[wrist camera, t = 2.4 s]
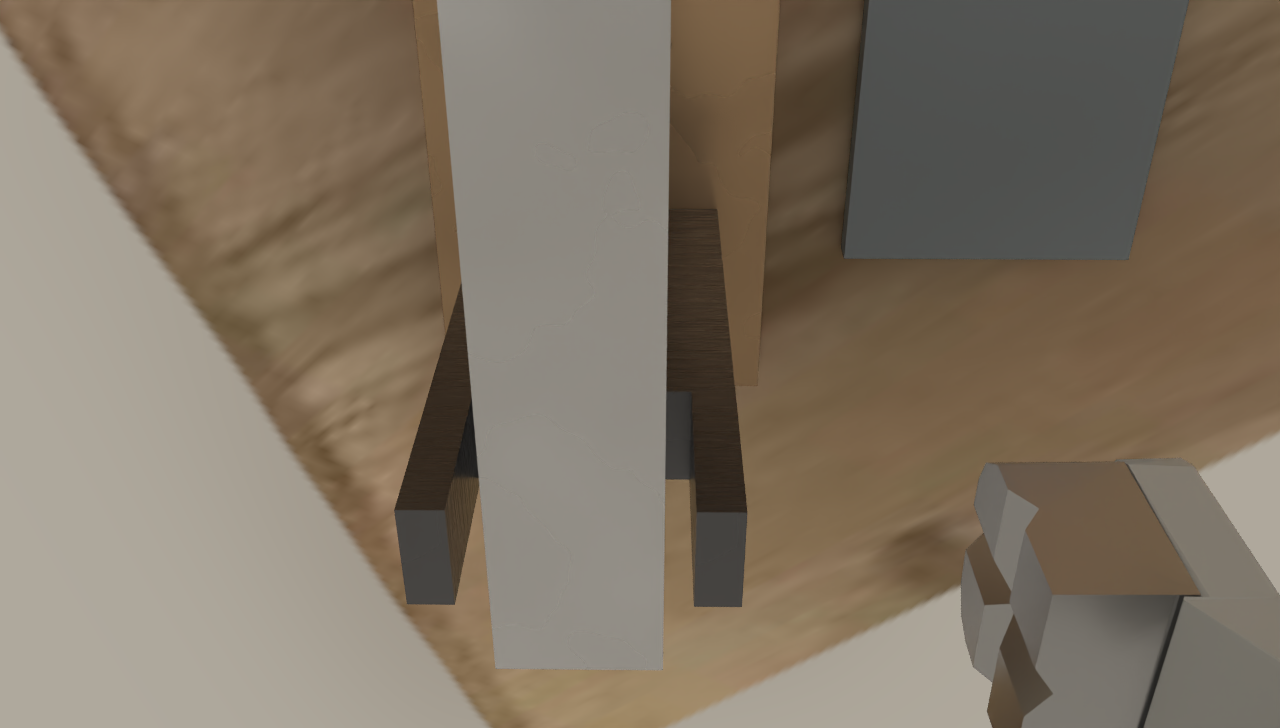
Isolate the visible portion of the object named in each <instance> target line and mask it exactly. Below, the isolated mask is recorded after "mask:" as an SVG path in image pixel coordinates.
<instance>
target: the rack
mask: <svg viewBox="0 0 1280 728" xmlns="http://www.w3.org/2000/svg"><path fill="white" fill-rule="evenodd" d="M412 2H413V12H414V22H415V32H416V42H417V53H418V63H419V73H420V83H421V93H422V103H423V114H424V124H425V134H426V144H427V154H428V164H429V174H430V185H431V195H432V205H433V215H434V225H435V235H436V246H437V256H438V266H439V276H440V286H441V296H442V307H443V317H444V327H445V339H444V342H443V346H442V349H441V353H440V356H439V360H438V363H437V366H436V370H435V373H434V377H433V380H432V383H431V387H430V390H429V394H428V397H427V400H426V404H425V407H424V411H423V414H422V418H421V421H420V424H419V428H418V431H417V435H416V438H415V441H414V445H413V448H412V452H411V455H410V458H409V462H408V465H407V469H406V472H405V476H404V479H403V482H402V486H401V489H400V493H399V496H398V499H397V503H396V506H395V510H394V511H395V519H396V526H397V533H398V541H399V548H400V555H401V563H402V570H403V577H404V585H405V592H406V600H407V604H445V605H455V601H456V596H457V592H458V587H459V582H460V577H461V572H462V567H463V562H464V557H465V552H466V547H467V543H468V538H469V533H470V528H471V523H472V518H473V513H474V508H475V503H476V499H477V494H478V489H479V474H478V463H477V452H476V440H475V429H474V417H473V406H472V395H471V383H470V372H469V361H468V349H467V338H466V327H465V315H464V304H463V292H462V281H461V270H460V258H459V247H458V236H457V224H456V213H455V202H454V190H453V179H452V167H451V156H450V145H449V133H448V122H447V111H446V99H445V88H444V77H443V65H442V54H441V42H440V31H439V20H438V8H437V0H412ZM779 10H780V0H671V43H670V125H669V207H668V289H667V371H666V452H665V479H689V483H690V511H691V539H692V567H693V594H694V607H742V596H743V579H744V561H745V544H746V526H747V505H746V494H745V484H744V474H743V464H742V454H741V444H740V434H739V423H738V413H737V403H736V393H735V386H757V383H758V367H759V350H760V333H761V316H762V299H763V282H764V265H765V248H766V231H767V214H768V197H769V180H770V163H771V146H772V129H773V112H774V95H775V78H776V61H777V44H778V27H779Z"/></svg>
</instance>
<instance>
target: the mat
mask: <svg viewBox="0 0 1280 728" xmlns="http://www.w3.org/2000/svg"><path fill="white" fill-rule="evenodd" d="M1188 3H1189V0H865V1H864V12H863V22H862V33H861V43H860V54H859V64H858V75H857V86H856V96H855V107H854V117H853V128H852V138H851V149H850V159H849V170H848V180H847V191H846V201H845V212H844V222H843V233H842V243H841V249H842V253H843V256H844V259H1049V260H1128V259H1129V255H1130V251H1131V246H1132V242H1133V238H1134V234H1135V229H1136V225H1137V221H1138V217H1139V212H1140V208H1141V204H1142V199H1143V195H1144V191H1145V187H1146V182H1147V178H1148V174H1149V170H1150V165H1151V161H1152V157H1153V152H1154V148H1155V144H1156V140H1157V135H1158V131H1159V127H1160V123H1161V118H1162V114H1163V110H1164V105H1165V101H1166V97H1167V93H1168V88H1169V84H1170V80H1171V75H1172V71H1173V67H1174V63H1175V58H1176V54H1177V50H1178V46H1179V41H1180V37H1181V33H1182V28H1183V24H1184V20H1185V16H1186V11H1187V7H1188Z"/></svg>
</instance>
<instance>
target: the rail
mask: <svg viewBox="0 0 1280 728" xmlns="http://www.w3.org/2000/svg"><path fill="white" fill-rule="evenodd" d="M437 8H438V20H439V31H440V42H441V54H442V65H443V77H444V88H445V99H446V111H447V122H448V133H449V145H450V156H451V167H452V179H453V190H454V202H455V213H456V224H457V236H458V247H459V258H460V270H461V281H462V292H463V304H464V315H465V327H466V338H467V349H468V361H469V372H470V383H471V395H472V406H473V417H474V429H475V440H476V452H477V463H478V474H479V486H480V497H481V508H482V520H483V531H484V542H485V554H486V565H487V577H488V588H489V599H490V611H491V622H492V633H493V645H494V656H495V667H496V669H585V670H663V616H664V534H665V452H666V371H667V289H668V207H669V125H670V43H671V0H437Z"/></svg>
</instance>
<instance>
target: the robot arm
mask: <svg viewBox="0 0 1280 728" xmlns="http://www.w3.org/2000/svg"><path fill="white" fill-rule="evenodd" d="M974 507H975V509H976V512H977V515H978V518H979V520H980V523H981V526H982V529H983V532H984V533H983V534H982V535H981V536H980V537H979V538H978V539H977V540H975V541H974V542H973V543H972V544H971V545H970V546H969V547H968V548H967V549H966V552H965V559H964V566H963V573H962V580H961V617H962V623H963V629H964V635H965V641H966V644H967V648H968V651H969V655H970V658H971V661H972V665H973V667H974V668H975V669H976V670H978V671H979V672H980V673H981V674H982V675H984V676H985V677H986V678H988V679H989V680H990V681H991V682H992V689H991V693H990V698H989V703H988V708H987V713H988V716H989V719H990V722H991V725H992V728H1280V595H1279V593H1278V592H1277V591H1276V589H1275V587H1274V586H1273V584H1272V583H1271V582H1270V580H1269V578H1268V577H1267V575H1266V574H1265V572H1264V571H1263V569H1262V568H1261V567H1260V565H1259V564H1258V562H1257V560H1256V559H1255V557H1254V556H1253V554H1252V553H1251V551H1250V550H1249V548H1248V547H1247V545H1246V544H1245V542H1244V541H1243V539H1242V538H1241V536H1240V535H1239V533H1238V532H1237V530H1236V529H1235V527H1234V526H1233V524H1232V523H1231V521H1230V520H1229V518H1228V517H1227V515H1226V514H1225V512H1224V511H1223V509H1222V508H1221V506H1220V505H1219V503H1218V502H1217V500H1216V499H1215V497H1214V496H1213V494H1212V493H1211V491H1210V490H1209V488H1208V486H1207V485H1206V484H1205V482H1204V481H1203V479H1202V478H1201V476H1200V474H1199V473H1198V471H1197V470H1196V468H1195V467H1194V466H1193V465H1192V464H1191V463H1189V462H1187V461H1185V460H1184V459H1182V458H1158V459H1124V460H1116V461H1115V462H1007V463H986V464H985V466H984V469H983V471H982V473H981V475H980V478H979V481H978V486H977V491H976V497H975V502H974Z"/></svg>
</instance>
